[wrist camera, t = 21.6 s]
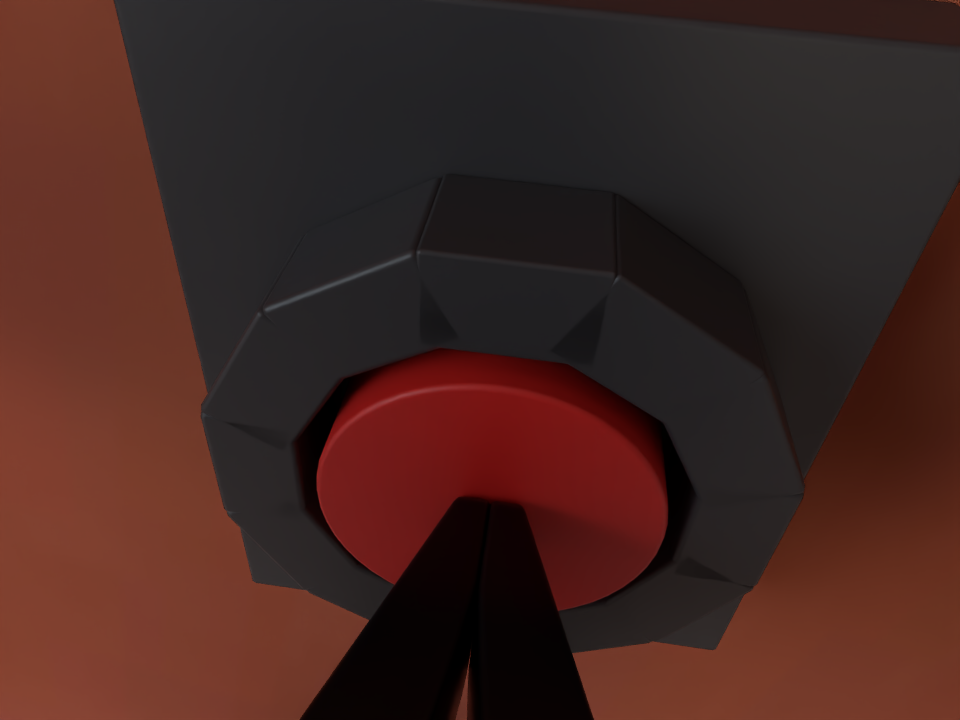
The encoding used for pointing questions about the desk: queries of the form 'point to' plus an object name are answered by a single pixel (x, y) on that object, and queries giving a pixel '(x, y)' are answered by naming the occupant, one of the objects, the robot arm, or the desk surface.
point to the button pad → (547, 237)
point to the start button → (497, 465)
